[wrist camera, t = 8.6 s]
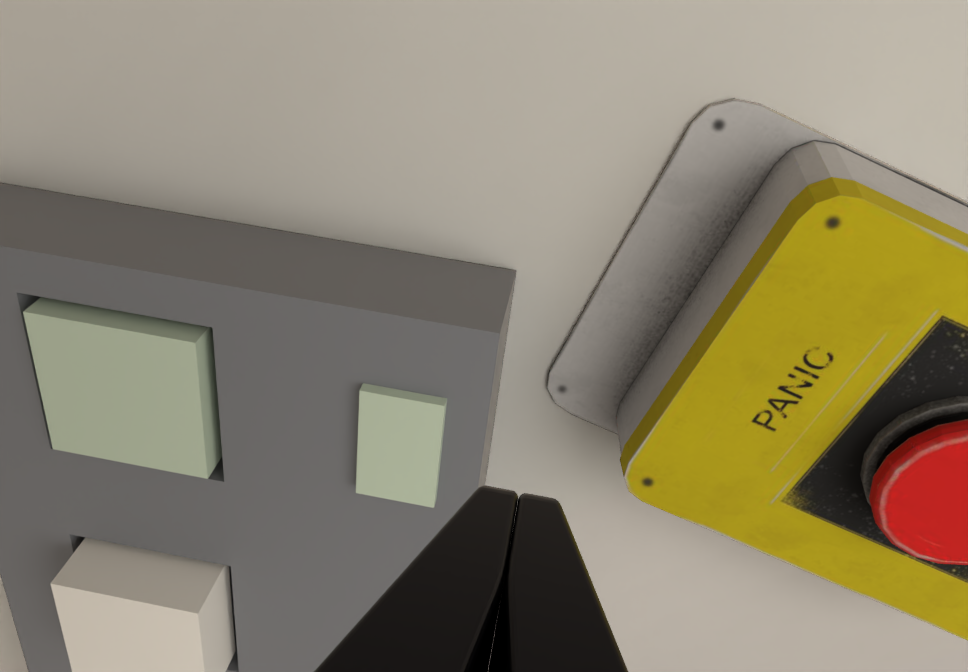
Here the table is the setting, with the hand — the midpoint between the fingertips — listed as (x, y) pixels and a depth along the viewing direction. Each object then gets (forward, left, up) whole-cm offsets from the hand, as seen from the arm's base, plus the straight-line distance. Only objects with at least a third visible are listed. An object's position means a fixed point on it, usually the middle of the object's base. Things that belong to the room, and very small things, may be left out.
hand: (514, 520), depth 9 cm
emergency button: (-5, -9, -13) cm, 16 cm away
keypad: (-15, +8, -12) cm, 21 cm away
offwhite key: (-15, +10, -10) cm, 20 cm away
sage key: (-7, +10, -11) cm, 16 cm away
